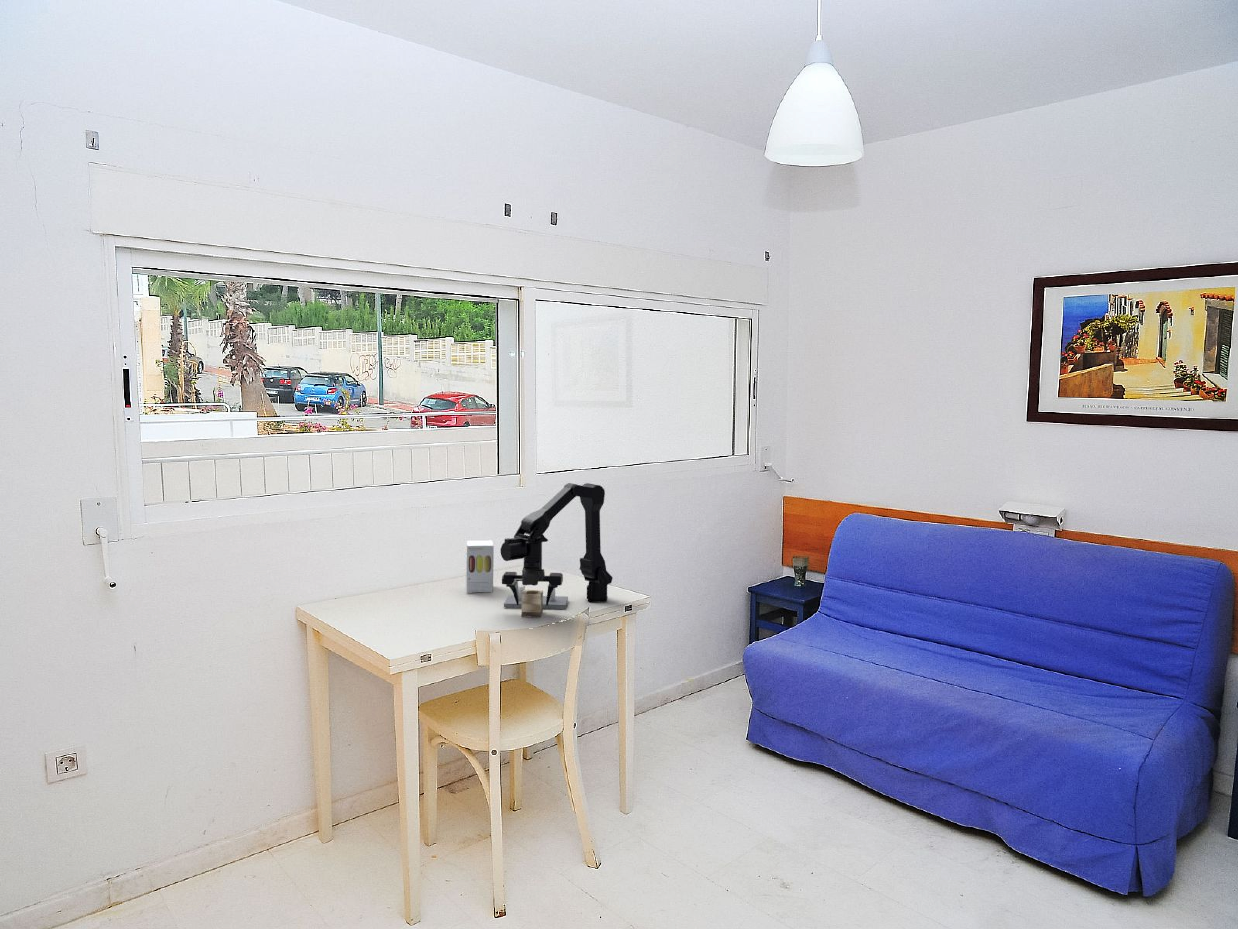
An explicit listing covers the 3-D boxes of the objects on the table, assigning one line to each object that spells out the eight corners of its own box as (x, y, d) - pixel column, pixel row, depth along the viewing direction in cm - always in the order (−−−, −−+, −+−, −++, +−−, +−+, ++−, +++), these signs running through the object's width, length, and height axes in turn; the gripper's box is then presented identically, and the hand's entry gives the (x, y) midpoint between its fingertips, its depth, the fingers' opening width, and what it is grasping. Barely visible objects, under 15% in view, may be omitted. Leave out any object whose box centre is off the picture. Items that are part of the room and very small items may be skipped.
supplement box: (466, 593, 279) (465, 545, 277) (465, 586, 288) (465, 540, 286) (494, 592, 281) (494, 545, 279) (492, 585, 290) (492, 539, 288)
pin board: (567, 600, 272) (568, 583, 272) (565, 609, 262) (565, 591, 262) (508, 599, 272) (508, 582, 272) (503, 608, 263) (503, 590, 262)
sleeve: (542, 611, 259) (542, 590, 259) (540, 617, 253) (540, 595, 253) (524, 611, 259) (524, 589, 259) (521, 616, 253) (521, 594, 253)
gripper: (498, 561, 247) (498, 611, 248) (560, 563, 246) (559, 613, 248) (504, 554, 258) (504, 601, 259) (563, 555, 257) (562, 603, 259)
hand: (532, 605), depth 256 cm, fingers open, 9 cm apart
